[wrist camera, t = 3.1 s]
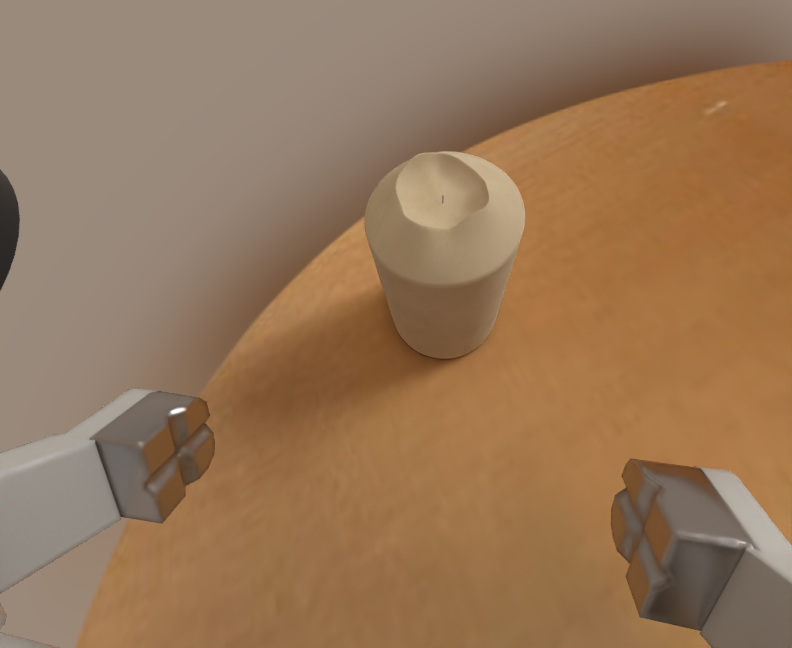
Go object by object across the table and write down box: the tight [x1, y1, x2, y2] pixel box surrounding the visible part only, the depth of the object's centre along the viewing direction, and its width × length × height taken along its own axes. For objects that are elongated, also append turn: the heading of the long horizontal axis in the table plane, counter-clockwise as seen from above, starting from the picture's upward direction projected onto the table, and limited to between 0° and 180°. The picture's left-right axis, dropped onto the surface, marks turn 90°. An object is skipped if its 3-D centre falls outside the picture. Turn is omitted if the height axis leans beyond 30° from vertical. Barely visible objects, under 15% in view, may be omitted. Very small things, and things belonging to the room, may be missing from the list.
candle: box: [365, 152, 525, 359], centre depth 17 cm, size 6×6×10 cm
